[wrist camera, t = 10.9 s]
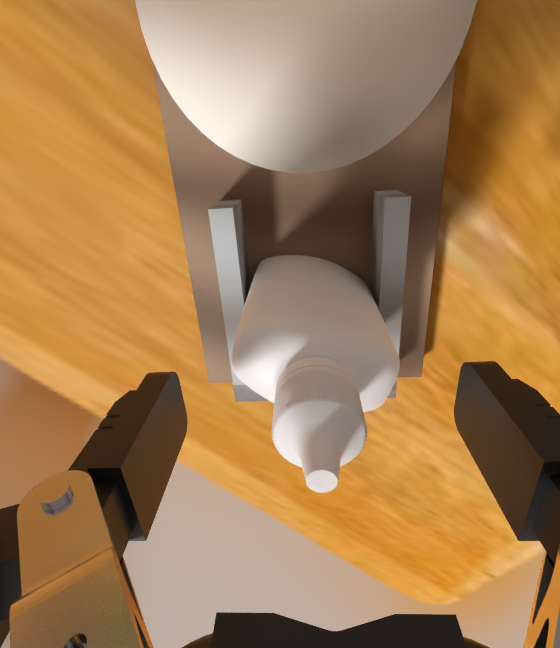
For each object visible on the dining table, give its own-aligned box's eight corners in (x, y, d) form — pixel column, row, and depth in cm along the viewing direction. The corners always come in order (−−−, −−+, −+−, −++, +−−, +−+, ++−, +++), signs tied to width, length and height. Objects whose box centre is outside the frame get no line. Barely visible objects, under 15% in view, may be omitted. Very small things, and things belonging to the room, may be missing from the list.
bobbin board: (141, -70, 15) (-93, -383, 6) (460, -108, 14) (738, -541, 5) (214, 368, 23) (162, 505, 14) (414, 362, 22) (487, 503, 14)
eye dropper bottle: (318, 349, 21) (338, 579, 10) (239, 282, 19) (161, 466, 8) (380, 295, 19) (484, 497, 8) (299, 217, 18) (297, 340, 7)
